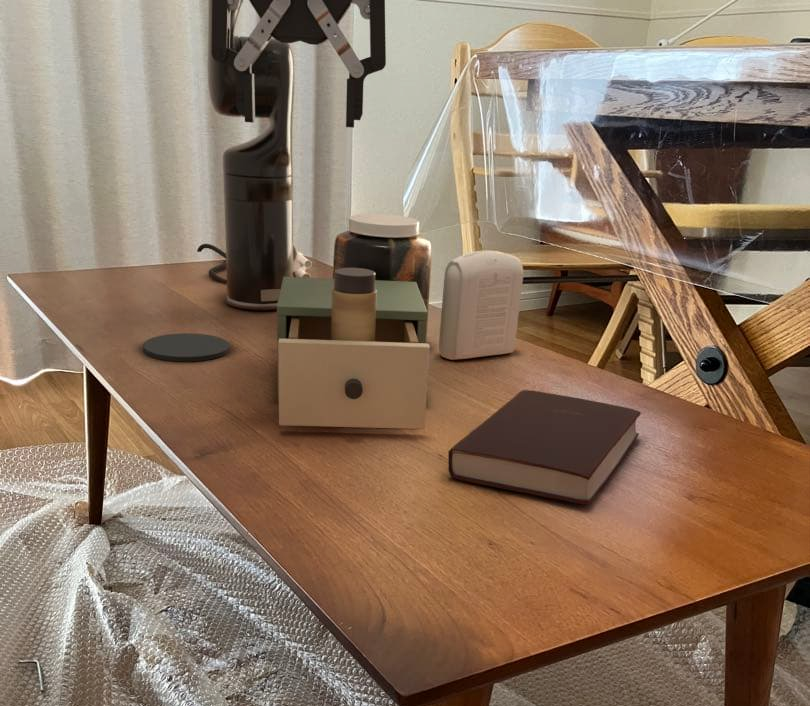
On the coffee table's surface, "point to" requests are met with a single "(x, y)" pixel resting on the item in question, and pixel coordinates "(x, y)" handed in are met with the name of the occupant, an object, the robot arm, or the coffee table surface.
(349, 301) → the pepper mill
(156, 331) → the coffee table surface
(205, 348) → the coaster
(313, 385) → the drawer
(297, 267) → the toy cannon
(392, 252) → the jar
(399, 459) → the coffee table surface
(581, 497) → the book
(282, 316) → the cabinet
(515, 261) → the cream rounded block
